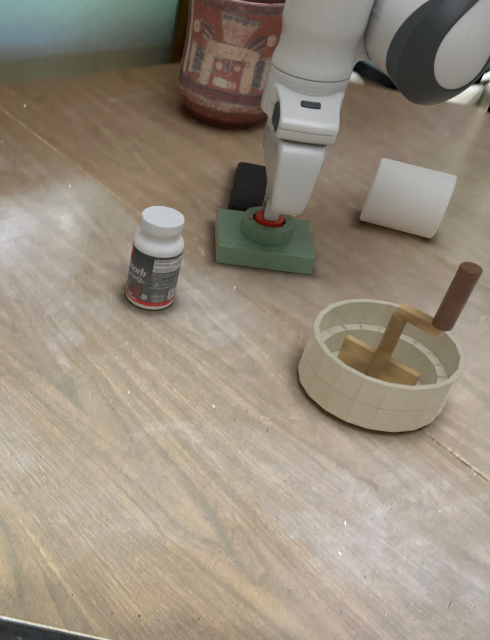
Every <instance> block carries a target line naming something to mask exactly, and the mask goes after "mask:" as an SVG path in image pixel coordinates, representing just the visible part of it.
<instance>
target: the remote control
mask: <svg viewBox="0 0 490 640" xmlns="http://www.w3.org/2000/svg"><path fill="white" fill-rule="evenodd" d="M266 186H267V175H266V167H265V165H262V164H258V163H257V164H256V163H252V162H246V161H240V162H238V163H237V165H236V170H235V174H234V178H233V182H232V187H231V191H230V195H229V200H228V204H227V208H226V209H228V210H236V211H244V212H245V211H246V210H248V209H249V208H252V207H259V206H263V202H264V199H265V195H266Z"/></svg>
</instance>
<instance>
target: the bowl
mask: <svg viewBox="0 0 490 640" xmlns="http://www.w3.org/2000/svg"><path fill="white" fill-rule="evenodd" d="M400 305H401V304H399V303H395V302H393V301H387V300H381V299H380V300H379V299H373V298H351V299H343V300H340V301H336V302H333V303H330V304H329V305H327V306H326V307H324V308H323V309H322V310H320V311H319V312H318V313H317V315H316V317H315V320H314V322H313V324H312V328H311V330H310V333H309V336H308V338H307V341H306V344H305V346H304V349H303V352H302V356H301V358H300V361H299V363H298V366H297V370H298V378H299V383H300V384H301V386H302V388H303V389H304V391H305V393H306V394H307V395H308V396H309V397H310V398H311V399H312V400H313V401H314V402H315V403H316V404H317V405H319V407H321V409H323V410H324V411H326V412H327V413H329V414H331V415H333V416H335V417H336V418H338V419H340V420H342V421H344V422H346V423H349V424H352V425H355V426H358V427H361V428H363V429H367V430H372V431H379V432H387V433H399V432H410V431H416V430H418V429H421V428H423V427H425V426H428V425H430V424H432V423H433V422H434V420H435V419H436V418H438V416H440V414H441V413H442V411H443V409H444V407H445V406H446V404H447V402H448V401H449V399H450V396H451V395H452V393H453V392H454V389H455V388H456V386H457V384H458V383H459V381H460V379H461V378H462V375H463V374H464V372H465V368H466V361H467V356H466V354H465V352H464V349H463V346H462V343H461V342H459V340H458V339H457V338H456V337H455V335H453V333H452V332H451V331H445V333H444V334H443V335H442V336H441V337H439V338H437V337H435V336H433V335H431V334H429V333H427V332H425V331H423V330H422V329H420V328H418V327H416V326H414V325H412V324H410V323H408V322H407V323H406V326H405V328H404V330H403V332H402V334H401V336H400V338H399V340H398V343H397V345H396V347H395V349H394V351H393V353H392V355H391V358H393V359H395V360H397V361H399V362H401V363H402V364H404V365H406V366H408V367H410V368H411V369H413V370H415V371H417V372H419V373H420V374H421V376H420V378H419V380H418V382H417V384H416V386H410V385H402V384H395V383H389V382H385V381H382V380H379V379H376V378H373V377H370V376H366V375H365V374H363V373H361V372H359V371H357V370H355V369H353V368H351V367H349V366H347V365H346V364H345V363H343V362H342V361H341V360H340V359H339V358H337V357H338V354H339V352H340V349H341V347H342V344H343V342H344V339H345V337H346V336H348V335H349V334H350V335H352V336H353V337H355V338H357V339H359V340H361V341H362V342H364V343H366V344H368V345H370V346H372V347H373V348H375V349H377V347H378V345H379V343H380V340H381V338H382V336H383V334H384V332H385V329H386V327H387V325H388V323H389V320H390V318H391V316H392V314H393V312H395V311H397V309H398V307H399V306H400Z"/></svg>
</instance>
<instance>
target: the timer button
mask: <svg viewBox="0 0 490 640" xmlns="http://www.w3.org/2000/svg"><path fill="white" fill-rule="evenodd" d="M254 220H255V221H256V222H257V223H258V224H261V225H263V226H266V227H273V228H276V227H282V225H283V222H284V217H283V215H281V214H279V217H278V219H277V220H276V221H270V220H265V219H264V213H263V210H259V211H258V212H257V213H256V215H255V219H254Z"/></svg>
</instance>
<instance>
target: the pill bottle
mask: <svg viewBox="0 0 490 640" xmlns="http://www.w3.org/2000/svg"><path fill="white" fill-rule="evenodd" d="M185 221H186V220H185V216H184V215H183V214H182V213H181V212H180V211H178V210H177V209H175V208H172V207H169V206H166V205H165V206H164V205H152V206H148V207H146V208H145V209H144V210H142V212H141V217H140V220H139V226H140V228H139V229H138V230H137V231H136V232H135V234H134V236H133V239H132V240H133V241H132V245H131V246H132V247H131V253H130V260H129V267H128V273H127V280H126V286H125V295H126V297H127V299H128V300H129V302H130V303H132V304H133V305H134V306H136V307H139V308H141V309H146V310H153V311H155V310H163V309H165V308H168V307H169V306H171V305H172V303H173V302H174V299H175V296H176V291H177V285H178V282H179V281H178V280H179V275H180V271H181V266H182V260H183V255H184V251H185V239H184V237H183V235H182V232H183V231H184V226H185Z"/></svg>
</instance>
